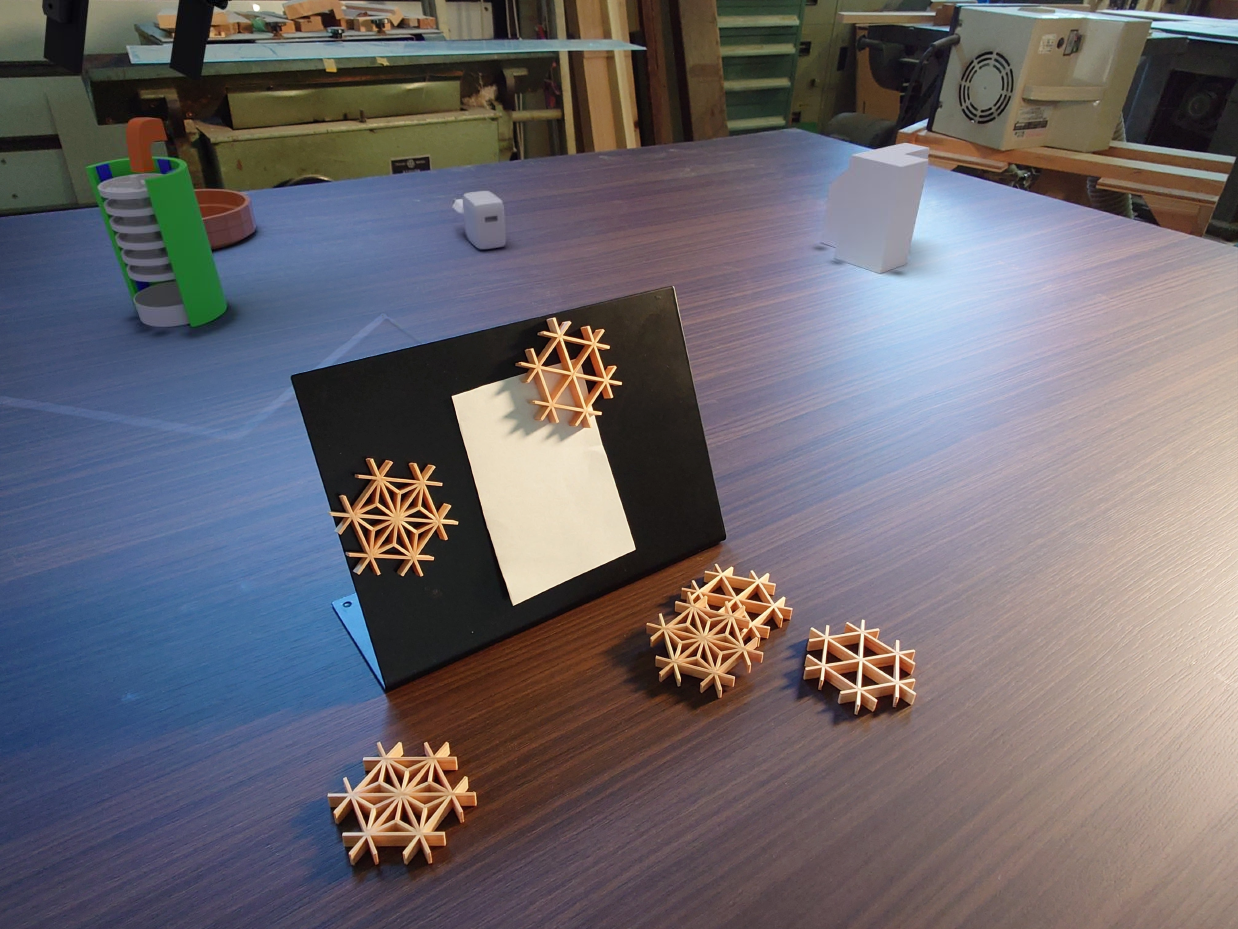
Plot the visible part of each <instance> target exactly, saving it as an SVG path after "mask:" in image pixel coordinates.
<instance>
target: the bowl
mask: <svg viewBox="0 0 1238 929" xmlns="http://www.w3.org/2000/svg"><path fill="white" fill-rule="evenodd" d="M194 191H195V195H196V198H197V202H198V205H199V209H200V212H201V216H202V219H203V223H204V226H205V230H206V233H207V237H208V240H209V244H210V247H211V251H212V250H216V249H221V248H225V247H227V246H232V245H234V244H236V243H238V242H241V241H243V240H244V239H246V238H248V236H250V235H252V234H253V233H254V232H255V230H256V228H257V227H258V226H257V225H258V224H257V220H256V216H255V212H254V207H253V204H252V199H251V198H250V197H249V196H248V195H247V194H245V193H243V192H240V191H237V190H230V189H223V188H222V189H221V188H199V189H197V188H196V189H195V188H194Z"/></svg>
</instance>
